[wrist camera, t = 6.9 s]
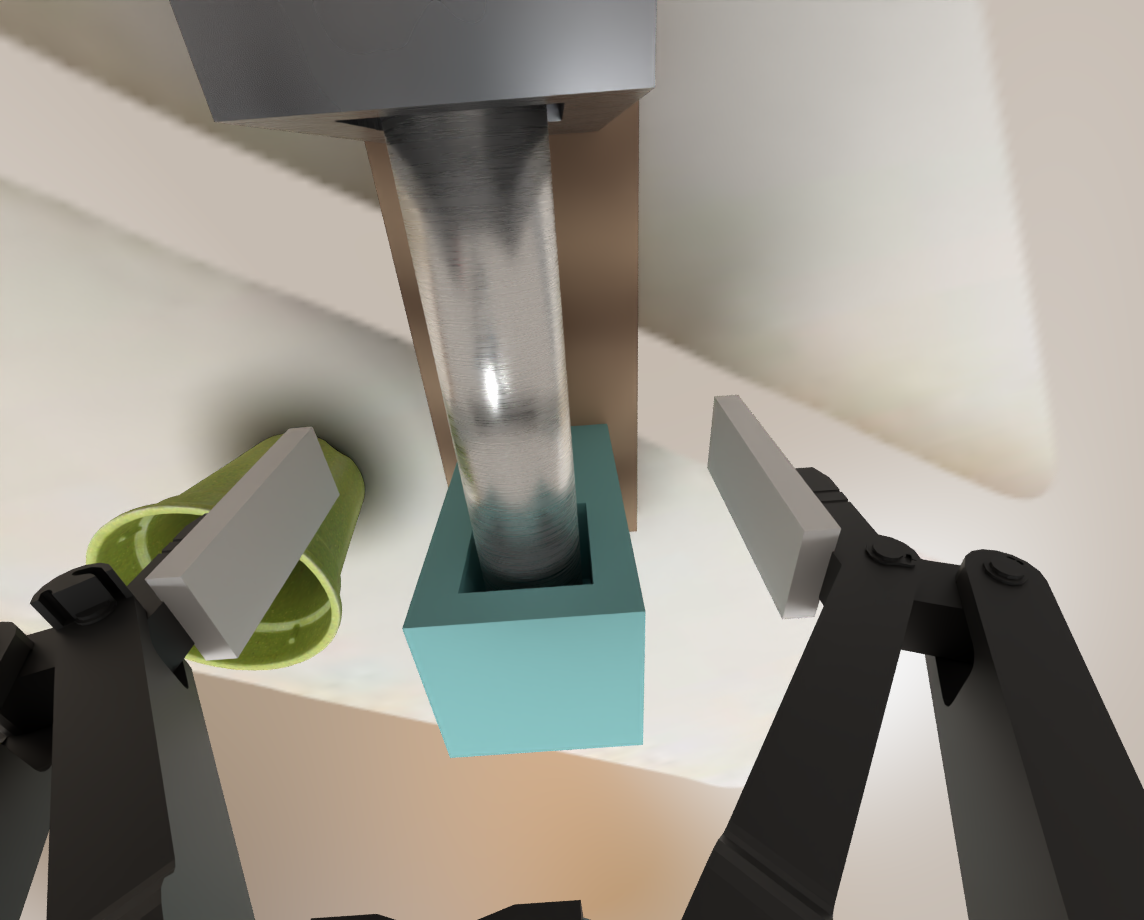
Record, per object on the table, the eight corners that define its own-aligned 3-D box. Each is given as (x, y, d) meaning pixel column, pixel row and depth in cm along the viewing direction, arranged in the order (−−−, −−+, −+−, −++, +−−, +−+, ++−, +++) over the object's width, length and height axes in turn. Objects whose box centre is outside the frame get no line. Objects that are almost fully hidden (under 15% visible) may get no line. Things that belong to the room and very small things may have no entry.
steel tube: (391, 55, 11) (332, 15, 8) (541, 42, 11) (537, -1, 8) (498, 582, 20) (488, 656, 17) (582, 577, 20) (587, 649, 17)
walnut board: (318, -111, 15) (297, -136, 14) (632, -136, 15) (639, -164, 14) (466, 526, 29) (462, 543, 28) (633, 514, 29) (636, 531, 28)
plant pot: (411, 542, 29) (363, 668, 22) (254, 547, 29) (153, 676, 22) (375, 400, 25) (298, 502, 17) (188, 406, 24) (29, 511, 17)
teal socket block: (466, 433, 24) (402, 628, 14) (607, 423, 24) (645, 611, 14) (488, 541, 28) (450, 757, 18) (610, 533, 28) (642, 744, 18)
